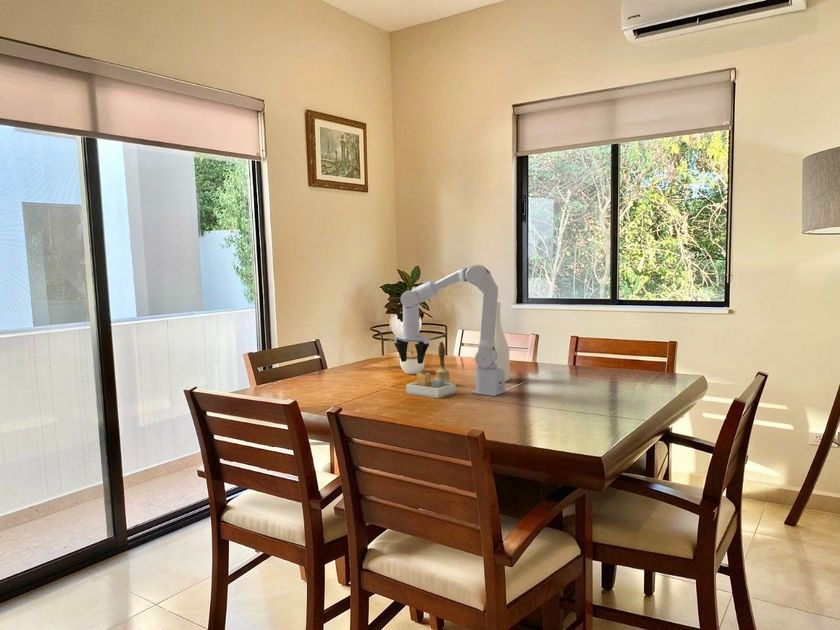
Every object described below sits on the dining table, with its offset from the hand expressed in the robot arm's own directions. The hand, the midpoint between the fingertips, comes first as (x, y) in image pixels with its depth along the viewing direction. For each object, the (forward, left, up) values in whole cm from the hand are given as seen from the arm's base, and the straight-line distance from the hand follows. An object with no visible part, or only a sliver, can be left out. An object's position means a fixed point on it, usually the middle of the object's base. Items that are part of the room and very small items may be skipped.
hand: (412, 362), depth 217 cm
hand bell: (-4, -13, -10) cm, 17 cm away
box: (-9, +1, -10) cm, 13 cm away
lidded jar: (+21, -26, -10) cm, 35 cm away
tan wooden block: (-6, +1, -9) cm, 11 cm away
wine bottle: (-17, -30, -10) cm, 36 cm away
